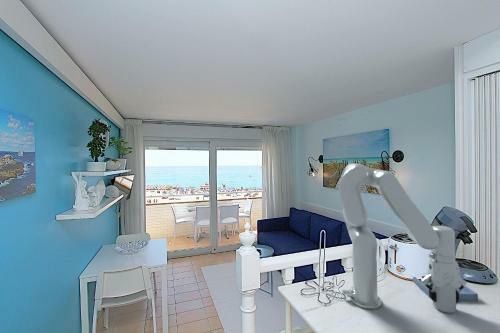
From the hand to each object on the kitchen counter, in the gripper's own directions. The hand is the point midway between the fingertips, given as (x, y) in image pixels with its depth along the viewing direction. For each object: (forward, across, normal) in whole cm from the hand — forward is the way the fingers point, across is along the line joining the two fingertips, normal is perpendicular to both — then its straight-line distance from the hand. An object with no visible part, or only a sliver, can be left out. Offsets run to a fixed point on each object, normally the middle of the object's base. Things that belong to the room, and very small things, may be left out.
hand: (443, 300), depth 97 cm
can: (+4, 0, 0) cm, 4 cm away
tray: (+3, +8, +14) cm, 16 cm away
